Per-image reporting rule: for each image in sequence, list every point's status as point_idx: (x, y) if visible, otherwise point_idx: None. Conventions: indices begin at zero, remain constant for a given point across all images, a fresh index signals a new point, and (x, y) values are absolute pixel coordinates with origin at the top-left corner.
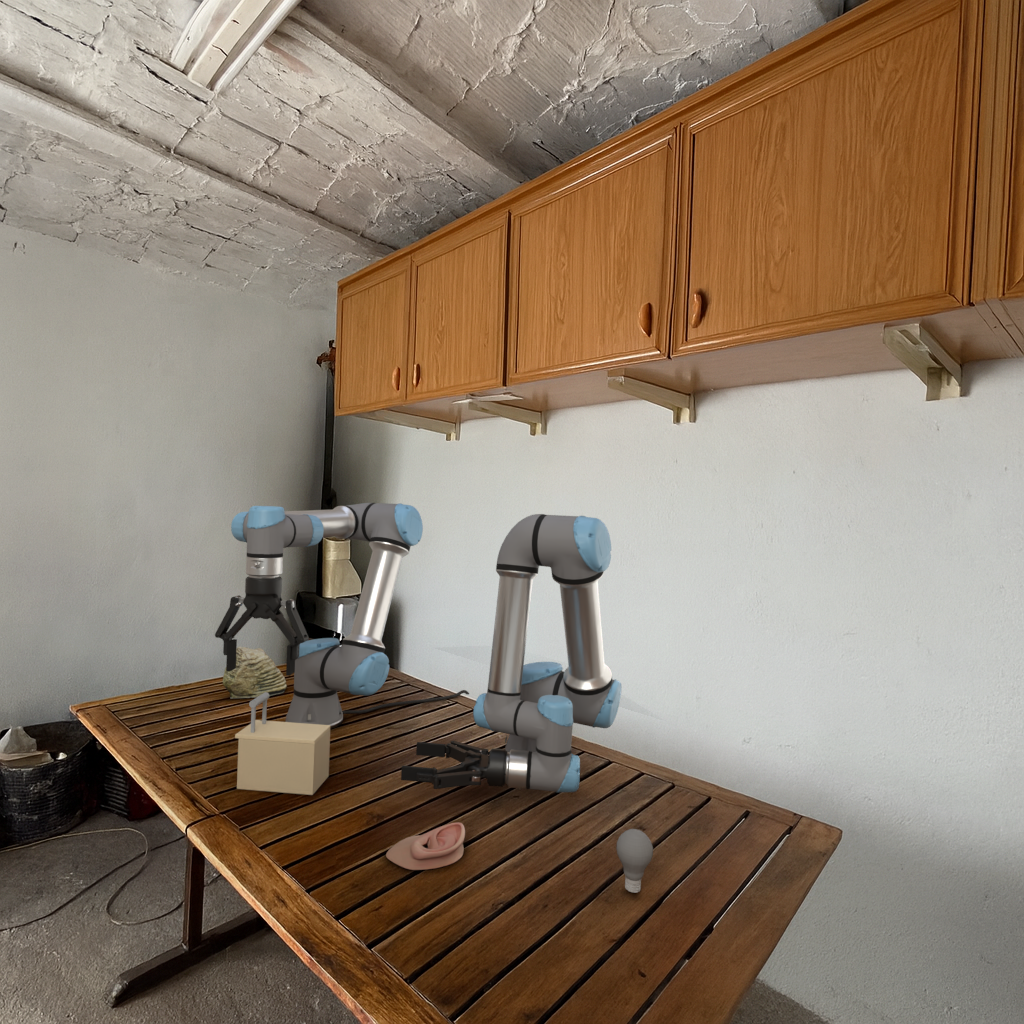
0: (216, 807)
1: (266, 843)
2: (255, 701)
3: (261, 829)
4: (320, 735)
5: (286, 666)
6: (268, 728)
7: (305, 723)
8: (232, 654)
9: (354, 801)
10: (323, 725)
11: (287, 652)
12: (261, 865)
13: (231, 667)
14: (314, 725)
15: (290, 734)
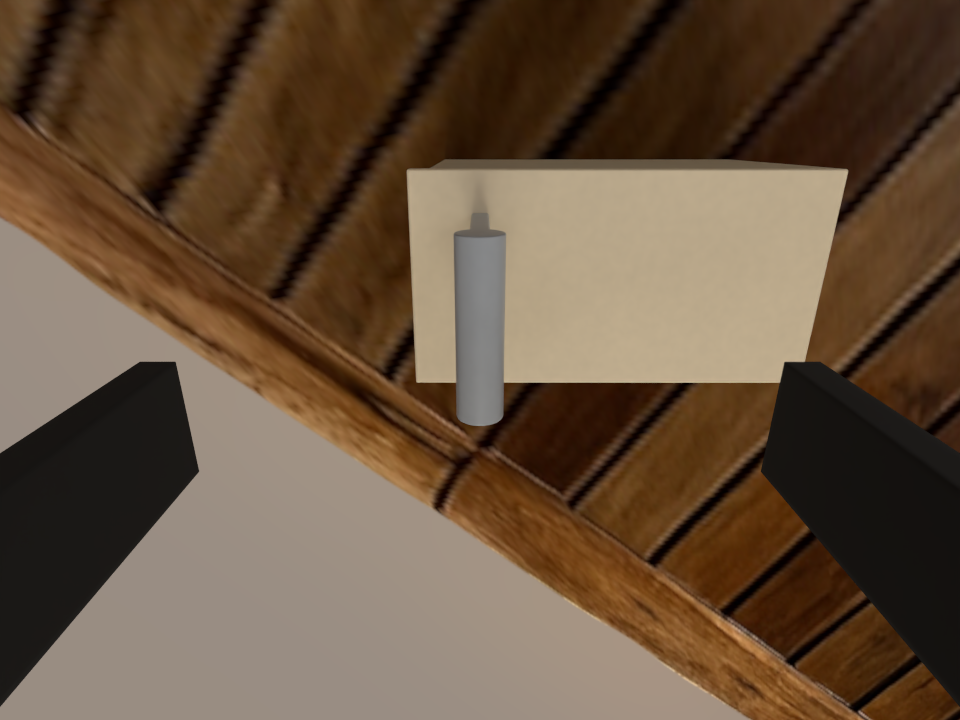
0: (452, 421)
1: (657, 547)
2: (495, 419)
3: (622, 499)
4: (814, 313)
5: (807, 526)
6: (533, 284)
7: (702, 172)
8: (88, 536)
9: (846, 326)
10: (810, 184)
11: (931, 664)
12: (676, 612)
13: (175, 454)
14: (759, 193)
15: (669, 338)
